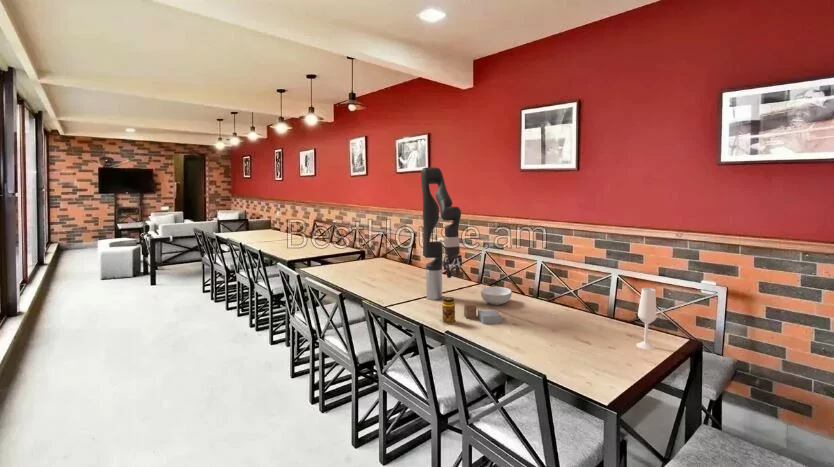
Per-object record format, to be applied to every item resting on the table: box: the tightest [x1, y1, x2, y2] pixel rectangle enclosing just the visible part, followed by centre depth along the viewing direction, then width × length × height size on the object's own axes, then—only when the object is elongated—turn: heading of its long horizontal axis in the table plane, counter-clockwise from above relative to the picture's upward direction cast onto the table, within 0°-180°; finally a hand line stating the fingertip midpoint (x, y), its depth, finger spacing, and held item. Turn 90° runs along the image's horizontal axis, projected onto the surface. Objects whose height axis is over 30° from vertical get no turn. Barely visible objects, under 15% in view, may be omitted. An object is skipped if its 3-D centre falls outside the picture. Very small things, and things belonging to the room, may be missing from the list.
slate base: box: [477, 309, 502, 325], centre depth 205 cm, size 9×9×4 cm
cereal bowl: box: [480, 286, 512, 306], centre depth 232 cm, size 17×17×7 cm
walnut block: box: [463, 301, 477, 320], centre depth 210 cm, size 5×5×7 cm
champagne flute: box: [635, 287, 658, 351], centre depth 169 cm, size 7×7×24 cm
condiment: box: [438, 296, 459, 326], centre depth 204 cm, size 7×8×12 cm
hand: (453, 276), depth 217 cm, fingers open, 8 cm apart
